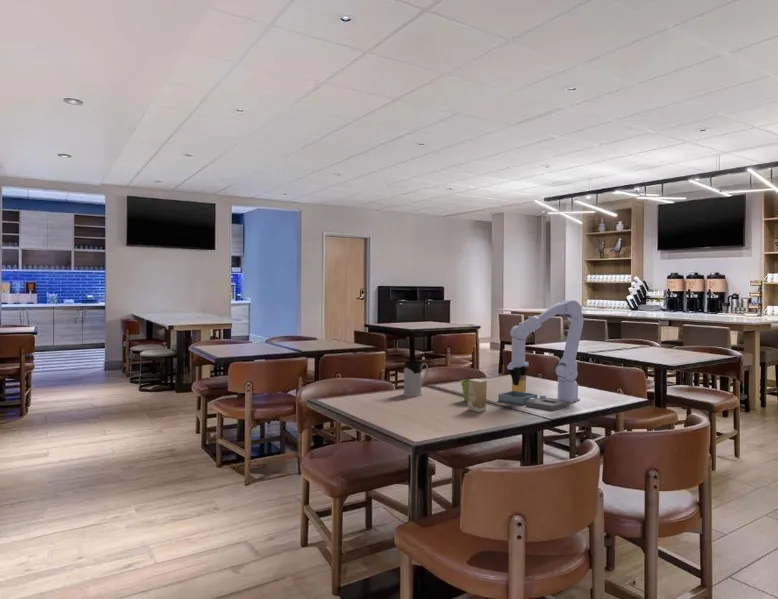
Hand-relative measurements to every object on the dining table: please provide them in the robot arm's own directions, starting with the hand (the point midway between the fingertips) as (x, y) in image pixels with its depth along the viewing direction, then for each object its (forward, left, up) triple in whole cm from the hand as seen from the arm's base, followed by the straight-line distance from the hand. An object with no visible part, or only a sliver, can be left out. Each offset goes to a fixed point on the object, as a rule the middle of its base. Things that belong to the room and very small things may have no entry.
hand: (517, 384), depth 238 cm
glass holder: (+20, -41, -8) cm, 46 cm away
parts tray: (0, 0, -7) cm, 7 cm away
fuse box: (0, +14, -7) cm, 16 cm away
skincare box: (+28, -2, -8) cm, 29 cm away
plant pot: (+15, -14, -8) cm, 22 cm away
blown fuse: (0, +1, -3) cm, 3 cm away
